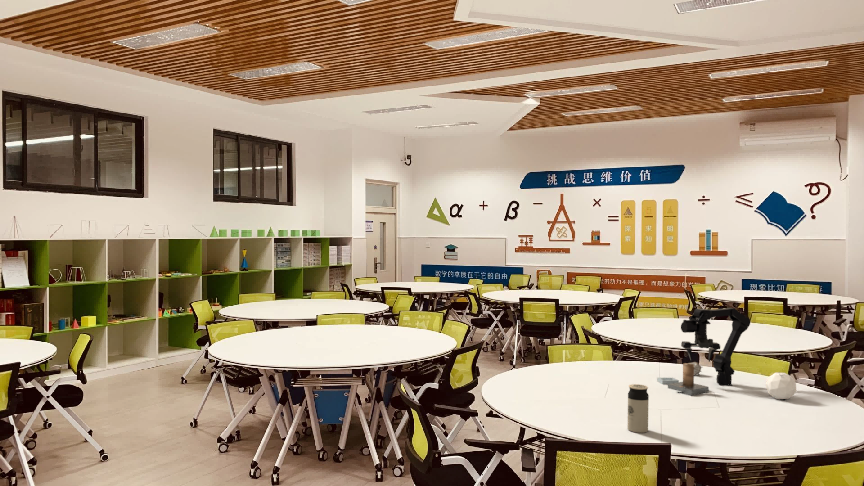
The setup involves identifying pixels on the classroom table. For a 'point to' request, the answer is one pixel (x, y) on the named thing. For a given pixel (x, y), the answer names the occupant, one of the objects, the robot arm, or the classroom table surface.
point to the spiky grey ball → (696, 368)
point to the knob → (688, 374)
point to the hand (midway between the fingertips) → (700, 361)
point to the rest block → (667, 380)
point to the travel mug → (638, 408)
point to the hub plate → (689, 388)
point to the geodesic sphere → (781, 386)
